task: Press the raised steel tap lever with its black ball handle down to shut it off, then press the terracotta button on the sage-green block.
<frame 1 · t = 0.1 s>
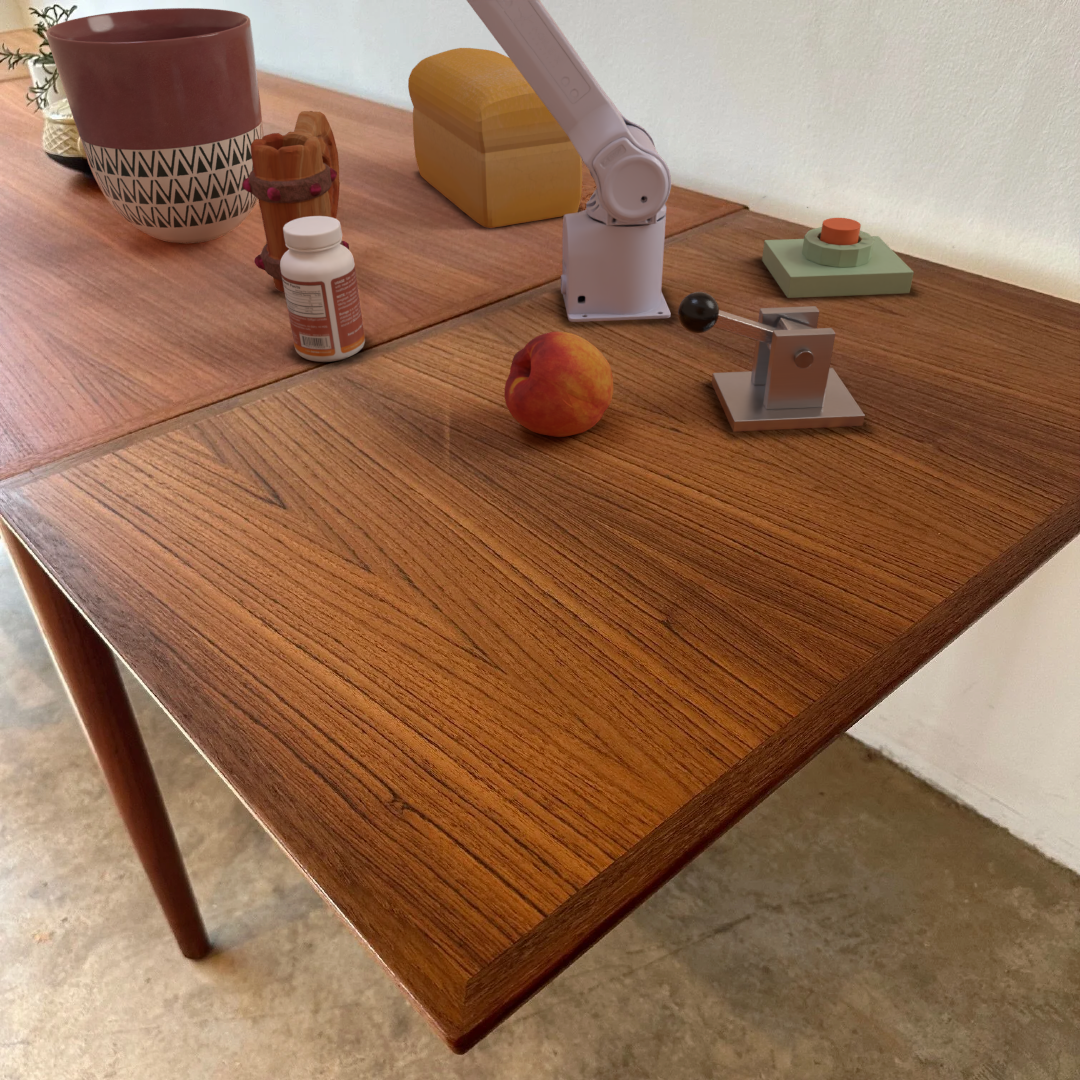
planter: (196, 237, 113), on the table
bread: (494, 193, 124), on the table
pill bottle: (330, 350, 89), on the table
fruit: (559, 431, 77), on the table
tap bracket: (783, 406, 79), on the table
mug: (317, 279, 103), on the table
button: (840, 232, 98), point 4 cm above the table, slide at 0.1 cm
tap lever: (746, 327, 75), point 7 cm above the table, hinge at 20.0°
button block: (832, 276, 101), on the table
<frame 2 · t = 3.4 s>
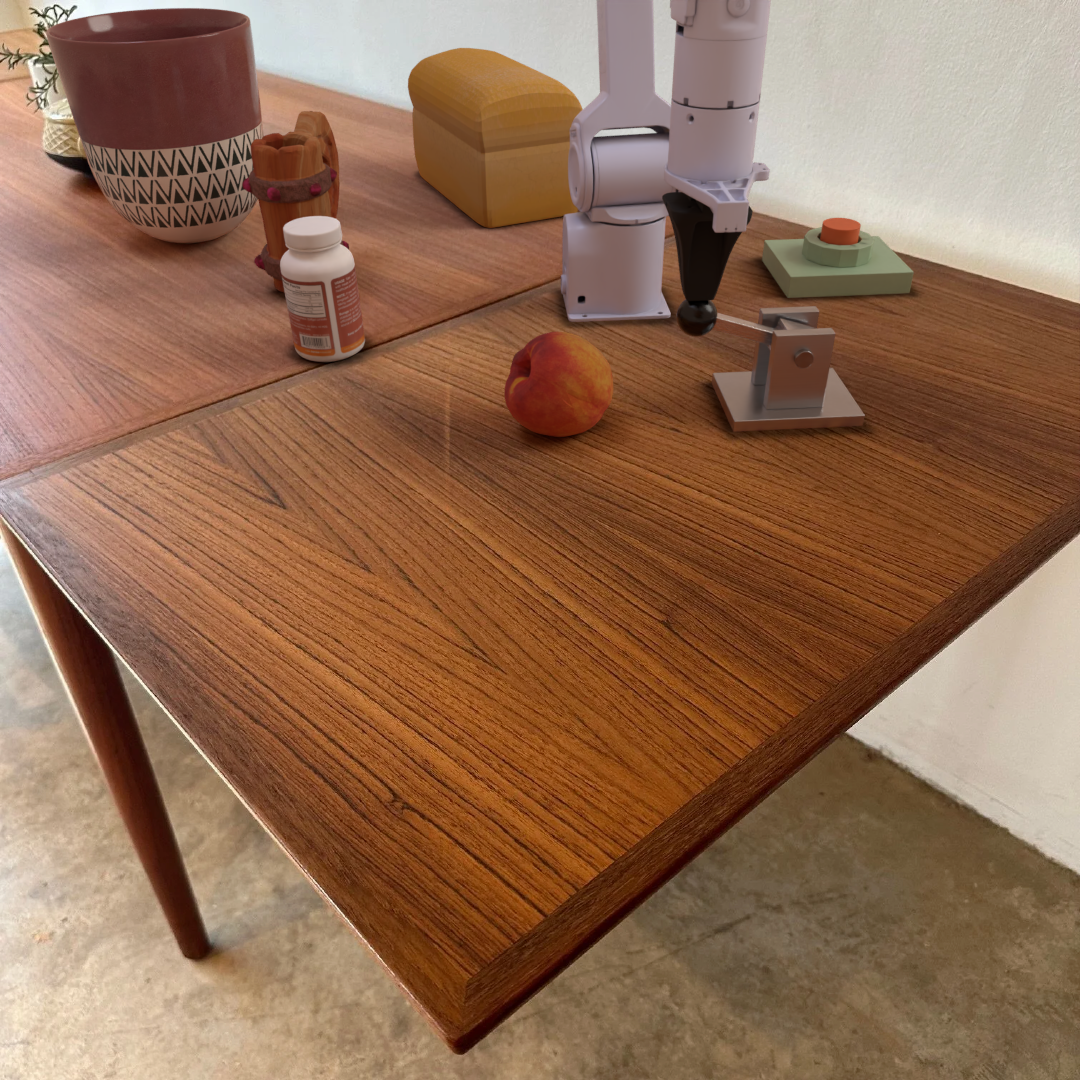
hand: (698, 297, 74), 9 cm above the table, tool pointing down, fingers closed, pressing on tap lever
tap lever: (745, 329, 75), point 7 cm above the table, hinge at 17.9°, touching gripper
everything else where it was.
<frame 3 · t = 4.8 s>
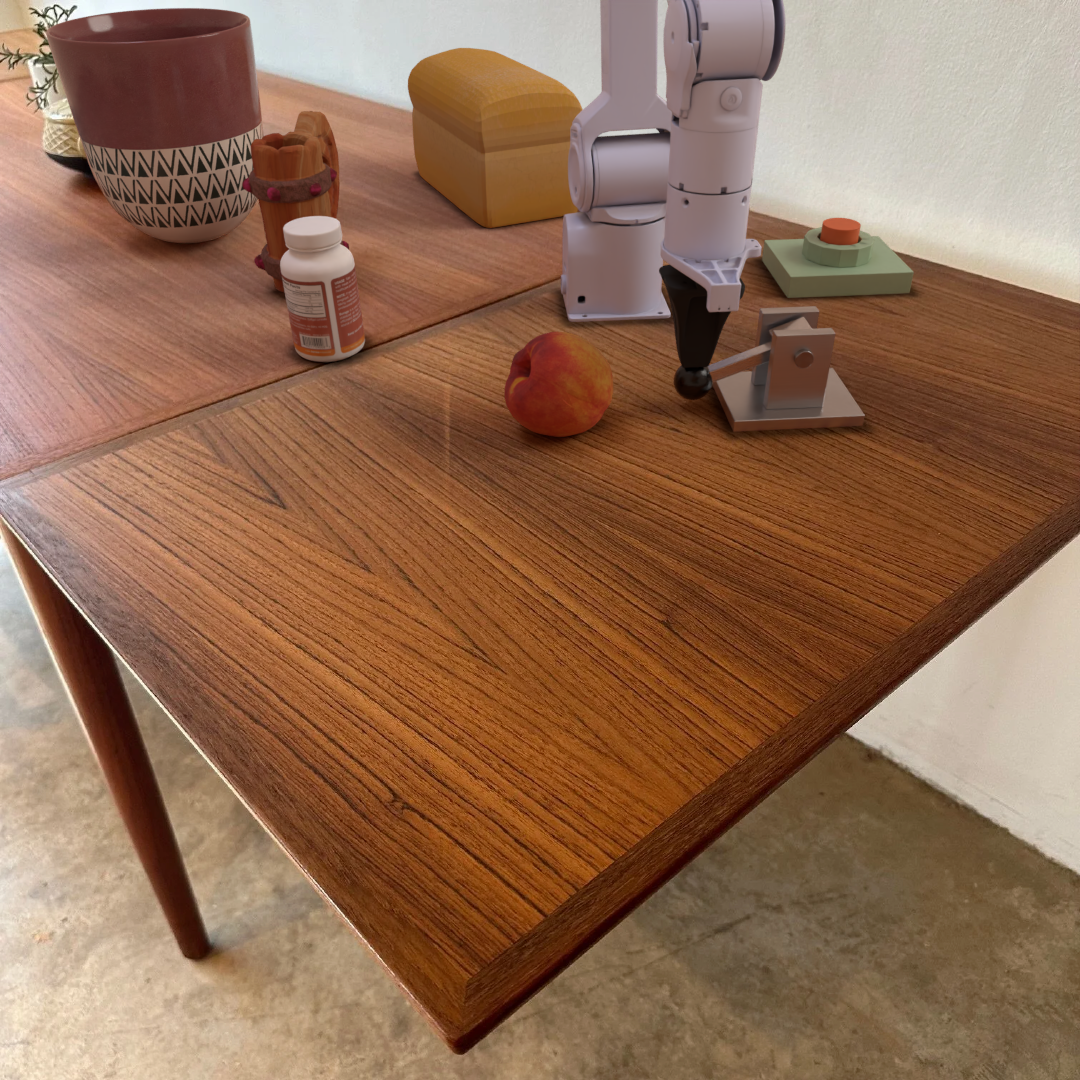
hand: (693, 363, 77), 4 cm above the table, tool pointing down, fingers closed, pressing on tap lever
tap lever: (742, 361, 77), point 4 cm above the table, hinge at -20.9°, touching gripper
everything else where it was.
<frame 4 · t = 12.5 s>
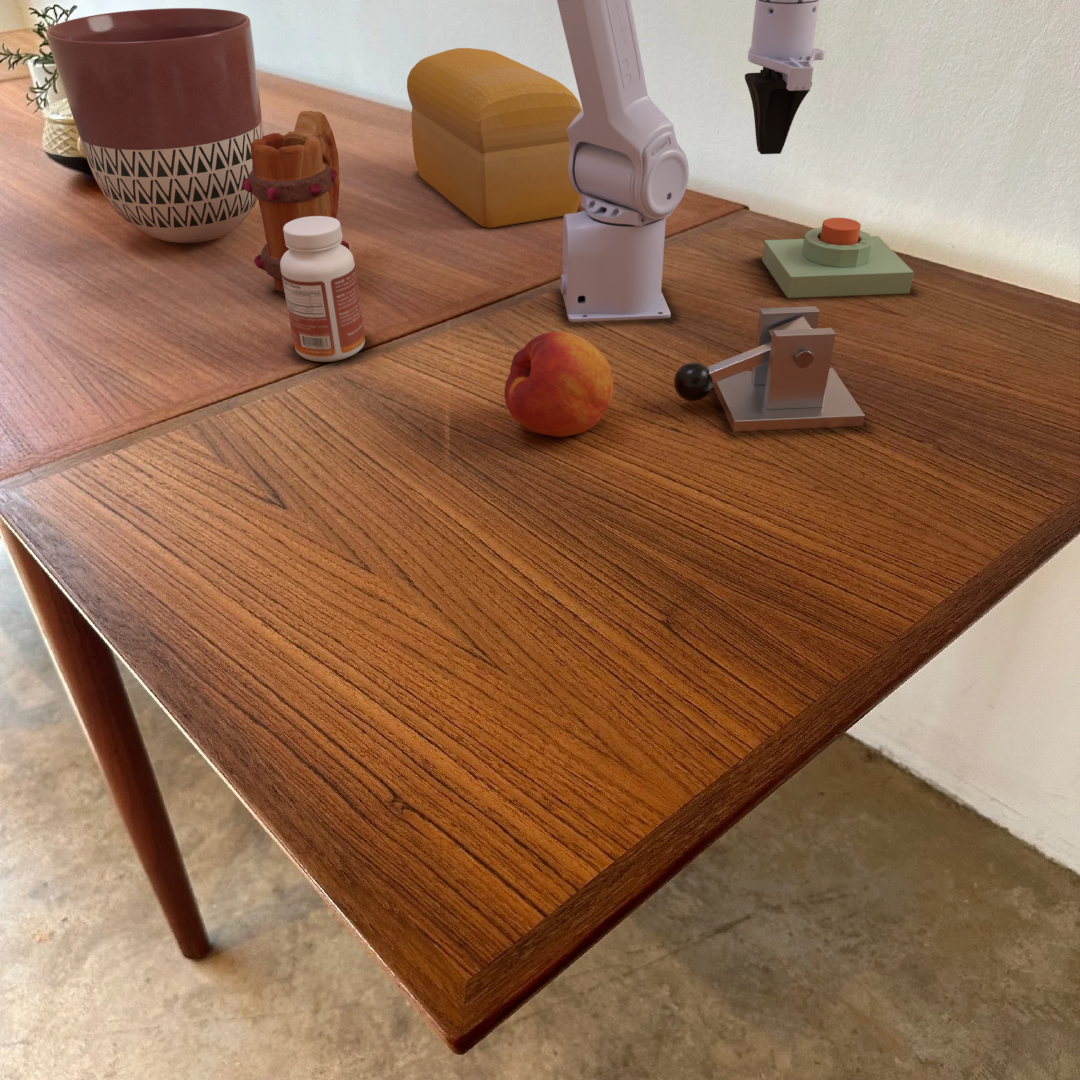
hand: (769, 152, 100), 10 cm above the table, tool pointing down, fingers closed
tap lever: (742, 362, 77), point 4 cm above the table, hinge at -21.7°
everything else where it was.
at the end: tap lever at -22° (first picture: +20°); button pushed in 1.2 cm at the most during the clip, back to where it started at the end; button slide at 0.1 cm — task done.
